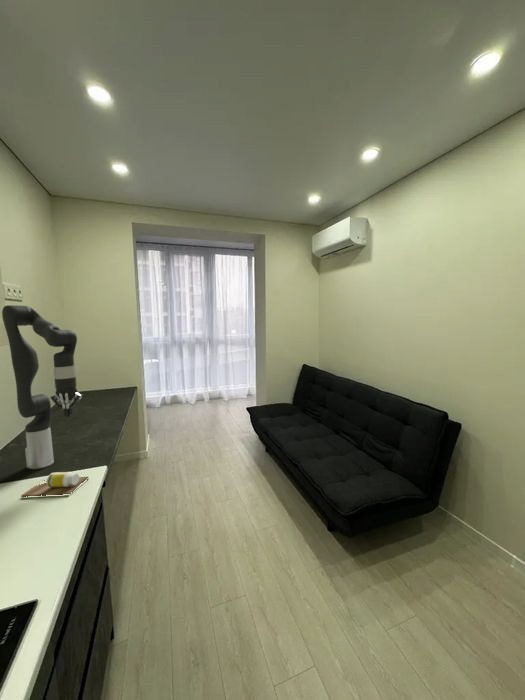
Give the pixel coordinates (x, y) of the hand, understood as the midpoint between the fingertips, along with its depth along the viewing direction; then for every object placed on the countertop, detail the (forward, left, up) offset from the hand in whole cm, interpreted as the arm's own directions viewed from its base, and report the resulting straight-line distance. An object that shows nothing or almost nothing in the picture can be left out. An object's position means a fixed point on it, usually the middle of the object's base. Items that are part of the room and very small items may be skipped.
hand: (68, 416), depth 124 cm
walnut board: (+1, -12, -25) cm, 28 cm away
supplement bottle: (-1, -12, -22) cm, 25 cm away
